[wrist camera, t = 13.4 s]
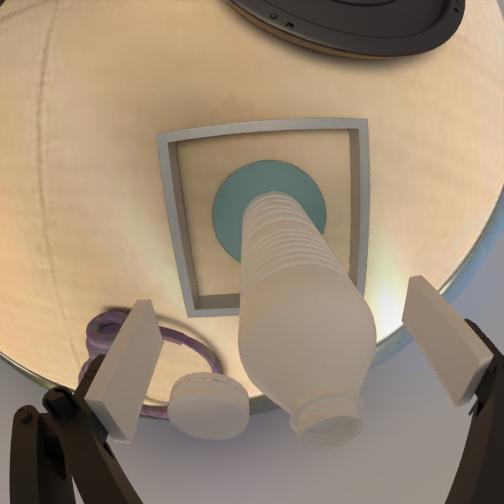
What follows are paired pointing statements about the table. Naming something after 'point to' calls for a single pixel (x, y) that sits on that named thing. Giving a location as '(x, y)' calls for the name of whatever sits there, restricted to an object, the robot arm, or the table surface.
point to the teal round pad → (253, 184)
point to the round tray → (358, 24)
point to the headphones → (106, 330)
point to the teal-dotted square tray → (167, 145)
